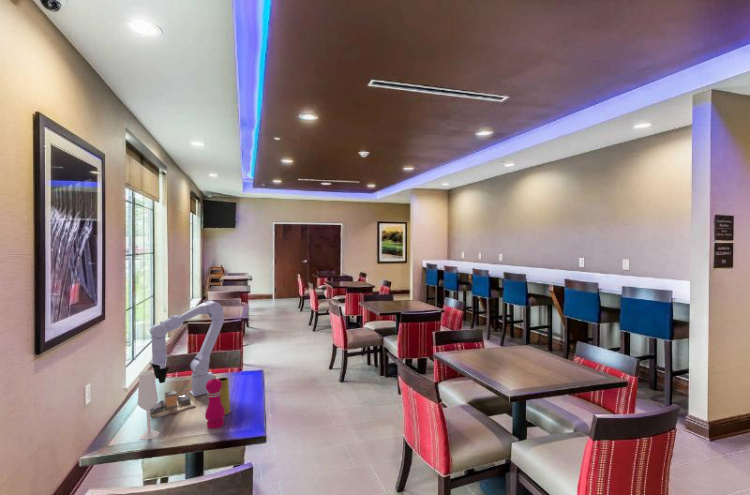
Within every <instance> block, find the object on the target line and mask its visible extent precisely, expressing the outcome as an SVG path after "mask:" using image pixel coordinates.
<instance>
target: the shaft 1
mask: <svg viewBox="0 0 750 495" xmlns="http://www.w3.org/2000/svg"><path fill="white" fill-rule="evenodd" d="M163 409H165V400H159V402H157V403H156V405H155V406H154V407H153V408H152V409H151V410H150V413H152V414H157V413H160V412H163Z"/></svg>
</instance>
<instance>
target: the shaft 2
mask: <svg viewBox="0 0 750 495" xmlns="http://www.w3.org/2000/svg"><path fill="white" fill-rule="evenodd" d="M177 401H178V404H181V405H186V404H190V403H191V401H192V400H191V396H190V394H189V393H188V394H184V395H177Z"/></svg>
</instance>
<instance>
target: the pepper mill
mask: <svg viewBox="0 0 750 495" xmlns="http://www.w3.org/2000/svg"><path fill="white" fill-rule="evenodd" d="M221 388H222V382H221V380H219V379H218V378H217V376H216V375H215V374H213V376H212V377H211V380H209V381H208V382H207V383H206V390H207V391H208V393H207V397H208V404H207V407H206V410H205V413H204V414H205V415H204V416H205V420H207V422H206V427H207V429H210V428H211V429H212V430H214V429H213V428H215V429H219V428H221V427H223V426H224V425H225V419H224V417H225V416H226V415H225V410H224V408H223V406H222V404H221V401H220V395H221V390H220V389H221Z"/></svg>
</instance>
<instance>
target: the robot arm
mask: <svg viewBox="0 0 750 495" xmlns="http://www.w3.org/2000/svg"><path fill="white" fill-rule="evenodd" d="M199 315H208V317H209V318H210V320H211V323H210V325H209V328H208V331H207V333H206V335H205V338H204V340H203V342H202V345H201V347H200V349H199V352H198V353H197V354H196V355H195V357H194V359H192V361H191V362H190V364H189V367H190V369H191V371H192V372H191V390H189V393H190V394H191V395H192V396H193V397H198V396H202V395H206V394H207V393H208V391H207V390H206V383H207V382H208V381H209V380H211V377H212V376H213V375H214V374H213V372H212V371H209V368H210V366H209V365H210V362H211V359H210V356H211V355H212V351H213V349H214V347H215V344H216V342H217V339H218V337H219V334H220V333H221V329H222V327H223V325H224V322H225V318H224V316H225V315H224V308H223V307H222V305H221V303H219V302H217V301H214V300H212V299H210V300H206V301H205V302H202V303H200V304H198V305H196V306H195V307H192V308H191V309H189V310H187V311H185V312H184V313H183V314H181V315H177V314H175V315H173V314H172V315H169V316H170V317H169V318H167V319H165V320H163V321H161V320H160V321H159V323H156V324H154V325H152V326H151V328H150V330H149V333H150V334H151V353H152V354H151V355H152V356H151V357H152V358H151V359H152V360H150V361H149V364H150V366H151V367H152V369H153V371H154V376H155V380H157V379H158V382H159V384H162V383H163V384H164V383H166V377H167V375H168V374H167V373H168V371H169V368H170V366H169V365H168V366H166V364H167V362H168V358H167V340H166V335H168V334H169V333H171V332H173V331H174V330H176V329H178V328H180V327H182V326H183V324H184V322H186V321H188V320H191V319H193V318H194V317H197V316H199ZM207 395H208V394H207Z"/></svg>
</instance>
